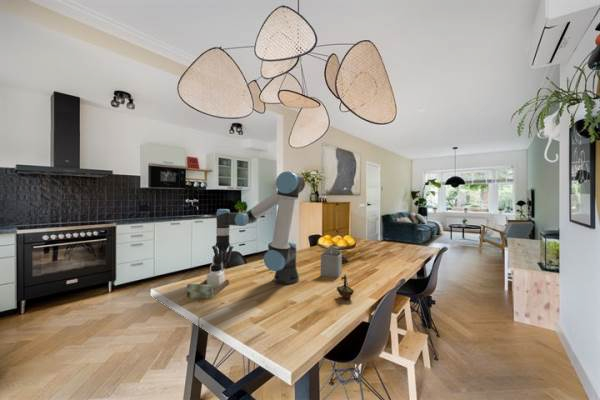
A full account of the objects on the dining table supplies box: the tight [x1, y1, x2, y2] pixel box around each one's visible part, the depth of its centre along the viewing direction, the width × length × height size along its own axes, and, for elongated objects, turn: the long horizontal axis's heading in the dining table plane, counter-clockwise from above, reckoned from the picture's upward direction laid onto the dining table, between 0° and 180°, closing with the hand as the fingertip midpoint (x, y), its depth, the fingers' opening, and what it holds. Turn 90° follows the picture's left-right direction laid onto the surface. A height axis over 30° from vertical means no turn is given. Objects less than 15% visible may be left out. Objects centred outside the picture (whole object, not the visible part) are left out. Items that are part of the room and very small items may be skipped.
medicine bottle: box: [206, 263, 225, 289], centre depth 135 cm, size 7×7×12 cm
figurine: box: [336, 274, 355, 300], centre depth 120 cm, size 10×8×12 cm
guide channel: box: [186, 278, 230, 299], centre depth 128 cm, size 13×20×6 cm, turn 172°
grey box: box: [320, 244, 343, 279], centre depth 154 cm, size 16×8×19 cm, turn 116°
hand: (222, 273), depth 144 cm, fingers closed
